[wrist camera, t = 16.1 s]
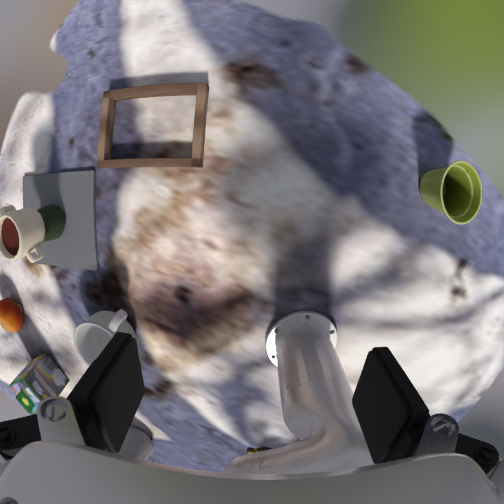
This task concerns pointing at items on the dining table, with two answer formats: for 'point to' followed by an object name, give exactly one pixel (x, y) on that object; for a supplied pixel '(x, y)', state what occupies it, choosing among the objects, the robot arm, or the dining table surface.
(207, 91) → the collar
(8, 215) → the character mug
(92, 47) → the dining table surface
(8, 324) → the fruit
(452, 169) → the plant pot
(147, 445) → the coffee pot
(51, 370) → the chalk box
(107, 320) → the teacup
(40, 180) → the rubber mat
